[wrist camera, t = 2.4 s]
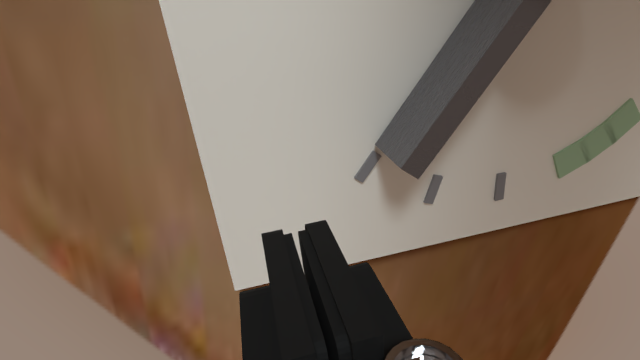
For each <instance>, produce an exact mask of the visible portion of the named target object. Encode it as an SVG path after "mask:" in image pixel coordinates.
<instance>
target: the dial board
mask: <svg viewBox="0 0 640 360" xmlns="http://www.w3.org/2000/svg"><path fill="white" fill-rule="evenodd" d="M474 1H475V0H159V3H160V7H161V10H162V14H163V18H164V22H165V26H166V29H167V33H168V37H169V41H170V45H171V48H172V52H173V56H174V60H175V64H176V67H177V71H178V75H179V79H180V83H181V86H182V90H183V94H184V98H185V102H186V106H187V109H188V113H189V117H190V121H191V125H192V128H193V132H194V136H195V140H196V144H197V147H198V151H199V155H200V159H201V163H202V166H203V170H204V174H205V178H206V182H207V185H208V189H209V193H210V197H211V201H212V204H213V208H214V212H215V216H216V220H217V224H218V227H219V231H220V235H221V239H222V243H223V246H224V250H225V254H226V258H227V262H228V265H229V269H230V273H231V277H232V281H233V284H234V288H235V291H237V290H241V289H245V288H250V287H254V286H258V285H262V284H267V283H269V278H268V272H267V266H266V260H265V254H264V248H263V242H262V236H261V234H262V233H267V232H271V231H276V230H281V229H282V230H283V234H289V233H292V236H293V239H294V242H295V245H296V249H297V252H298V255H299V258H300V262H301V265H302V268H303V262H302V256H301V250H300V244H299V237H298V231H302V230H305V224H308V223H313V222H318V221H322V220H326V221H327V223H328V225H329V227H330V229H331V231H332V233H333V235H334V237H335V239H336V241H337V243H338V245H339V247H340V249H341V251H342V253H343V255H344V257H345V259H346V261H347V263H348V264H352V263H357V262H361V261H365V260H369V259H374V258H378V257H382V256H387V255H391V254H395V253H399V252H404V251H408V250H412V249H416V248H421V247H425V246H429V245H434V244H438V243H442V242H446V241H451V240H455V239H459V238H464V237H468V236H472V235H476V234H481V233H485V232H489V231H494V230H498V229H502V228H506V227H511V226H515V225H519V224H523V223H528V222H532V221H536V220H541V219H545V218H549V217H553V216H558V215H562V214H566V213H571V212H575V211H579V210H583V209H588V208H592V207H596V206H601V205H605V204H609V203H613V202H618V201H622V200H626V199H631V198H635V197H639V196H640V0H552V1H551V2H550V4H549V5H548V6H547V8H546V9H545V11H544V12H543V13H542V15H541V16H540V17H539V19H538V20H537V21H536V23H535V24H534V25H533V27H532V28H531V29H530V31H529V32H528V33H527V35H526V36H525V37H524V39H523V40H522V41H521V43H520V44H519V45H518V47H517V48H516V49H515V51H514V52H513V53H512V55H511V56H510V57H509V59H508V60H507V61H506V63H505V64H504V65H503V67H502V68H501V70H500V71H499V72H498V74H497V75H496V76H495V78H494V79H493V80H492V82H491V83H490V84H489V86H488V87H487V88H486V90H485V91H484V92H483V94H482V95H481V96H480V98H479V99H478V100H477V102H476V103H475V104H474V106H473V107H472V108H471V110H470V111H469V112H468V114H467V115H466V116H465V118H464V119H463V120H462V122H461V123H460V124H459V126H458V127H457V129H456V130H455V131H454V133H453V134H452V135H451V137H450V138H449V139H448V141H447V142H446V143H445V145H444V146H443V147H442V149H441V150H440V151H439V153H438V154H437V155H436V157H435V158H434V159H433V161H432V162H431V163H430V165H429V166H428V167H427V169H426V170H425V171H424V173H423V174H422V175H421V177H420V178H419V179H417V178H415V177H413V176H412V175H410V174H408V173H407V172H405V171H403V170H402V169H400V168H399V167H398V166H397V165H396V164H395V163H394V162H393V161H392V160H391V159H390V158H388V157H387V156H386V155H385V154H384V153H383V152H382V151H381V150H380V149H379V148H378V147H377V146H376V145H375V143H376V142H377V140H378V139H379V138H380V136H381V135H382V133H383V132H384V130H385V129H386V127H387V126H388V125H389V123H390V122H391V120H392V119H393V117H394V116H395V114H396V113H397V112H398V110H399V109H400V107H401V106H402V104H403V103H404V102H405V100H406V99H407V97H408V96H409V94H410V93H411V91H412V90H413V89H414V87H415V86H416V84H417V83H418V81H419V80H420V78H421V77H422V76H423V74H424V73H425V71H426V70H427V68H428V67H429V66H430V64H431V63H432V61H433V60H434V58H435V57H436V55H437V54H438V53H439V51H440V50H441V48H442V47H443V45H444V44H445V42H446V41H447V40H448V38H449V37H450V35H451V34H452V32H453V31H454V29H455V28H456V27H457V25H458V24H459V22H460V21H461V19H462V18H463V17H464V15H465V14H466V12H467V11H468V9H469V8H470V6H471V5H472V4H473V2H474ZM303 271H304V269H303Z"/></svg>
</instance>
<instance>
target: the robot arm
mask: <svg viewBox="0 0 640 360" xmlns="http://www.w3.org/2000/svg"><path fill="white" fill-rule="evenodd" d="M261 236H262V242H263V248H264V254H265V260H266V266H267V272H268V278H269V284H270V285H269V286H264V287H260V288H256V289H252V290H248V291H243V292H240V294H239V295H240V318H241V337H242V356H243V360H463V359H462V358H461V357H460V356H459V355H458V354H457V353H456V352H455V351H453V350H452V349H451V348H450V347H448V346H446V345H444V344H442V343H440V342H438V341H434V340H429V339H413V338H412V336H411V335H410V333H409V331H408V330H407V328H406V326H405V324H404V323H403V321H402V319H401V318H400V316H399V314H398V312H397V311H396V309H395V307H394V306H393V304H392V302H391V300H390V299H389V297H388V295H387V294H386V292H385V290H384V288H383V287H382V285H381V283H380V282H379V280H378V278H377V276H376V275H375V273H374V271H373V270H372V268H371V266H370V265H369V264H368V263H367V262H365V263H361V264H357V265H353V266H349V265H348V263H347V261H346V259H345V257H344V255H343V253H342V251H341V249H340V247H339V245H338V243H337V241H336V239H335V237H334V235H333V233H332V231H331V229H330V227H329V225H328V223H327V221H326V220H322V221H318V222H313V223H308V224H305V230H302V231H298V237H299V244H300V250H301V256H302V262H303V268H302V265H301V262H300V258H299V255H298V252H297V249H296V245H295V242H294V239H293V236H292V233H289V234H283V230H282V229H281V230H276V231H271V232H267V233H262V234H261ZM303 269H304V271H303Z"/></svg>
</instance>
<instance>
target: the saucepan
mask: <svg viewBox="0 0 640 360" xmlns="http://www.w3.org/2000/svg"><path fill="white" fill-rule="evenodd" d="M551 1H552V0H475V1H474V2H473V4H472V5H471V6H470V8H469V9H468V11H467V12H466V14H465V15H464V17H463V18H462V19H461V21H460V22H459V24H458V25H457V27H456V28H455V29H454V31H453V32H452V34H451V35H450V37H449V38H448V40H447V41H446V42H445V44H444V45H443V47H442V48H441V50H440V51H439V53H438V54H437V55H436V57H435V58H434V60H433V61H432V63H431V64H430V66H429V67H428V68H427V70H426V71H425V73H424V74H423V76H422V77H421V78H420V80H419V81H418V83H417V84H416V86H415V87H414V89H413V90H412V91H411V93H410V94H409V96H408V97H407V99H406V100H405V102H404V103H403V104H402V106H401V107H400V109H399V110H398V112H397V113H396V114H395V116H394V117H393V119H392V120H391V122H390V123H389V125H388V126H387V127H386V129H385V130H384V132H383V133H382V135H381V136H380V138H379V139H378V140H377V142H376V143H375V145H376V146H377V147H378V148H379V149H380V150H381V151H382V152H383V153H384V154H385V155H386V156H387V157H388V158H390V159H391V160H392V161H393V162H394V163H395V164H396V165H397V166H398V167H399V168H400V169H402V170H403V171H405V172H407V173H408V174H410V175H412V176H413V177H415V178H417V179H419V178H420V177H421V175H422V174H423V173H424V171H425V170H426V169H427V167H428V166H429V165H430V163H431V162H432V161H433V159H434V158H435V157H436V155H437V154H438V153H439V151H440V150H441V149H442V147H443V146H444V145H445V143H446V142H447V141H448V139H449V138H450V137H451V135H452V134H453V133H454V131H455V130H456V129H457V127H458V126H459V124H460V123H461V122H462V120H463V119H464V118H465V116H466V115H467V114H468V112H469V111H470V110H471V108H472V107H473V106H474V104H475V103H476V102H477V100H478V99H479V98H480V96H481V95H482V94H483V92H484V91H485V90H486V88H487V87H488V86H489V84H490V83H491V82H492V80H493V79H494V78H495V76H496V75H497V74H498V72H499V71H500V70H501V68H502V67H503V65H504V64H505V63H506V61H507V60H508V59H509V57H510V56H511V55H512V53H513V52H514V51H515V49H516V48H517V47H518V45H519V44H520V43H521V41H522V40H523V39H524V37H525V36H526V35H527V33H528V32H529V31H530V29H531V28H532V27H533V25H534V24H535V23H536V21H537V20H538V19H539V17H540V16H541V15H542V13H543V12H544V11H545V9H546V8H547V6H548V5H549V4H550V2H551Z"/></svg>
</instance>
